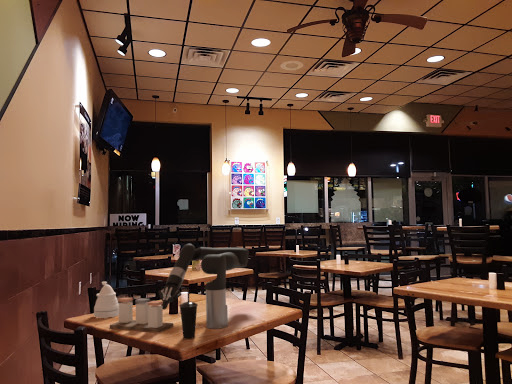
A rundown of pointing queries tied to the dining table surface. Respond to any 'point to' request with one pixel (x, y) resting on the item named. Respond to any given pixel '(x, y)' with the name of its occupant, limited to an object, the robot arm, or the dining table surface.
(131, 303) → the white spice jar
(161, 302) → the white lidded canister
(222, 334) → the dining table surface
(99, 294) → the honey pot
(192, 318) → the drinking cup
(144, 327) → the wooden serving board
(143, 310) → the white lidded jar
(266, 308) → the dining table surface
